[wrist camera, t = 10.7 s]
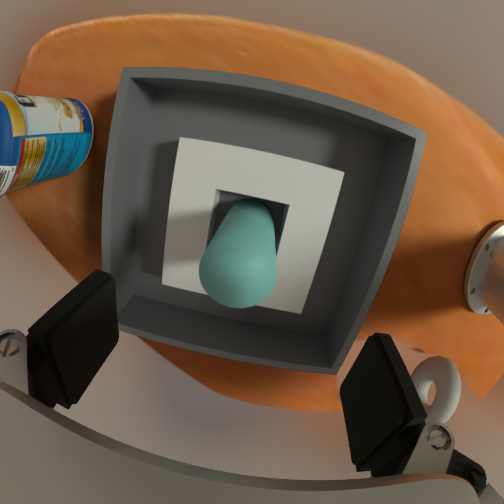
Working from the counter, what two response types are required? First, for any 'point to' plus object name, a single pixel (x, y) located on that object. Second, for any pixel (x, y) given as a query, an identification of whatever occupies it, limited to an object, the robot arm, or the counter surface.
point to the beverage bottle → (41, 138)
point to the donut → (438, 387)
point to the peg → (241, 257)
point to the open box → (251, 187)
